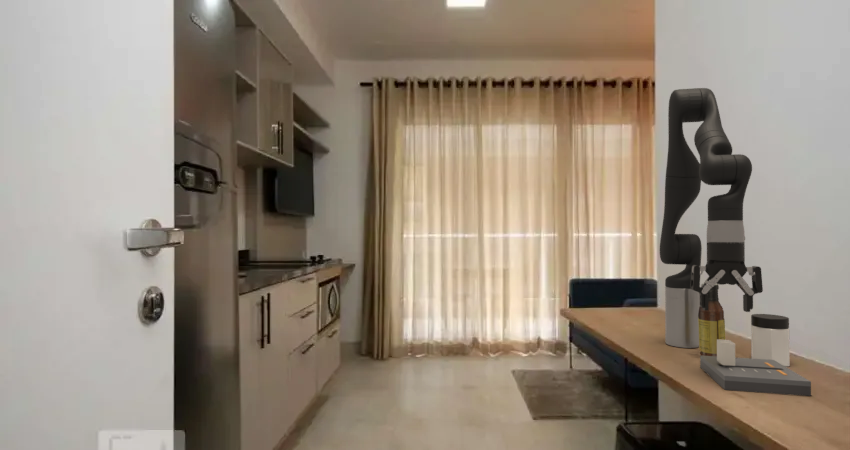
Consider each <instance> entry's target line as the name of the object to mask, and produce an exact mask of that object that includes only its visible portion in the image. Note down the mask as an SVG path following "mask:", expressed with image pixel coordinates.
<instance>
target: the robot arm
mask: <svg viewBox="0 0 850 450" xmlns="http://www.w3.org/2000/svg"><path fill="white" fill-rule="evenodd" d="M667 111H668V115H667V117H668V120H667V121H668V124H667V125H668V126H667V127H668V129H667V130H668V132H667V133H668V140H667V141H668V142H667V143H668V144H667V147H668V148H667V158H666V169H665V180H664V181H665V182H664V206H663V207H664V208H663V218H662V219H663V220H662V224H661V225H662V227H661V234H660V242H659V258H660V261H661V262H662V263H663V264H665V265H682V266H683V265H685V268H683V270H681V271H680V272H678V273H676V274H673V275H668V276H667V277H666V278H665V284H664V285H665V287H664V288H665V289H664V290H665V291H664V293H665V294H664V295H665V302H664V303H665V304H664V305H665V307H664V308H665V312H664V313H665V317H664V318H665V325H664V326H665V329H664V330H665V333H664V334H665V335H664V336H665V338H664V339H665V342H664V343H665V344H666V345H668V346H672V347H677V348H685V349H694V348H695V349H696V348H697V349H698V348H699V323H698V313H699V307H702V308H703V310H707V311H708V309H709V307H708V294H707V292H708V291H709V290H710V289H711V288H712V287H713V286H714V285H715V284H718V285H722V286H723V285H729V286H734V285H736V286H737V287H738V288H740V290H741V291H742V292H743V293H744V294H743V295H742V301H743V302H742V309H743V312H746V313H750V312H751V310H753V309H754V296H755V295H756V294H761V293H762V292H763V291H764V289H763V276H762V274H763V273H762V268H761V267H760V266H757V265H752V266H747V265H746V264H745V258H746V257H745V256H746V255H745V251H746V250H745V249H746V248H745V246H746V245H745V243H746V242H745V241H746V236H745V226H744V221H743V220H744V215H743V214H744V210H743V209H744V201H745V195H746V191H747V188H748V185H749V181H750V179H751V176H752V172H753V164H752V162H751V160H750V158H749V157H747V155H745V154H741V153H739V154H736V153H735V154H733V146H732V144H731V142H730V140H729V138H728V136H727V134H726V133H725V130H724V128H723V125H722V124H723V123H722V119H721V115H720V111H719V106H718V103H717V98H716V96H715V93H714V92H713V91H712V89H710V88H707V87H695V88H680V89H674V90H673V91H672V92H671V94H670V95H669V100H668V109H667ZM701 122H702V123H701ZM684 123H701V124H700V126H699V127H698V128H697V129H696V131H695V134H694V138H693V140H694V147H695V148H696V150H697V153H698V155H699V160H698V158H697V157H696V155H695V154H694V152H693V151H692V149H691V147H690V146H689V144H688V142H687V140H686V138H685V135H684V128H683V124H684ZM699 161H700V162H699ZM702 182H703V183H704V184H705V185H708V186H730V188H729V190H728V191H727V193H723V194H718V195H714V196H711V197H710V198H708V201H707V224H706V225H707V226H706V264H705V265H704V266H703V265H702V249H703V248H702V240H701V237H700V236H699V235H697V233H696V234H695V233H676V231H677V228H678V224H679V222H680V221H681V219H682V217H683V215H684V214H685V213H686V212H687V210H688V209H689V208H690V207H691V206H692V204H693V203H694V202H695V201H696V199H697V197H698V196H699V194H700V192H701V186H702ZM704 272H705V273H706V274H707V275H708V277H707V278H706V280H704V282H703V283H702V284H703V285H702V284H701V275H703V273H704ZM747 273H748V275H749V276H751V284H752V285H751V286H752V287H750V286H749V284H748V283H747V282H746V280H745V279H744V276H745V275H746V274H747Z"/></svg>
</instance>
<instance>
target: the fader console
mask: <svg viewBox="0 0 850 450" xmlns="http://www.w3.org/2000/svg"><path fill="white" fill-rule="evenodd" d="M699 364H700V365H699V366H700V367H699V368H700V369H702V371H703V372H704V373H706V374H707V376H709V377H710V379H712V380H713V381H714V382H716V384H717V385H719V386H720V387H721V388H722V389H723V390H725V391H737V392H747V393H748V392H749V393H750V392H751V393H763V394H764V393H765V394H776V395H777V394H779V395H791V396H803V397H804V396H805V397H811V396H812V381H811V380H809V379H807V378H806V377H804V376H802V375H801V374H799V373H797V372H795V371H794V370H792V369H790V368H789V367H786V366H783V365H781V364H780V363H778V362H776V361H775V360H768V359H752V358H751V357H750V358H748V357H735V366H730V365H728V367H725V366H723V365H722V364H721V363H719V362H718V361H717V356H701V354H700V356H699Z"/></svg>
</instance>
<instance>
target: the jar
mask: <svg viewBox="0 0 850 450" xmlns="http://www.w3.org/2000/svg"><path fill="white" fill-rule="evenodd" d="M750 324H751V326H750V327H751V328H750V330H751V331H750V332H751V335H750V336H751V337H750V339H751V340H750V342H751V343H750V344H751V345H750V347H751V349H750V350H751V356H750V358H751V359H768V360H775V361H776V362H778V363H780V364H781V365H783V366H785V367H787V368H789V367H790V360H791V359H790V329H789V328H790V318H789V317H788V316H785V315H778V314H777V315H776V314H769V313H754V314H751V315H750Z"/></svg>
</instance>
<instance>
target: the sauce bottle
mask: <svg viewBox="0 0 850 450" xmlns="http://www.w3.org/2000/svg"><path fill="white" fill-rule="evenodd" d="M703 284H704V283H701V286H702V285H703ZM719 289H720V287H719V284H717V283H716V284H715V285H714V286H713V287H712V288H711V289H710V290H709V291H708V292H707V294H708V307H709V309H708V311H707V310H703V308H702V307H699V313H698V323H699V347H698V349H699V351H700V355H701V356H717V339H721V340H726V325H725V323H726V321H725V317H724V316H725V311H724V308H723V306H722V304H721V303H720V301H719V300H720V299H719Z"/></svg>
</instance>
